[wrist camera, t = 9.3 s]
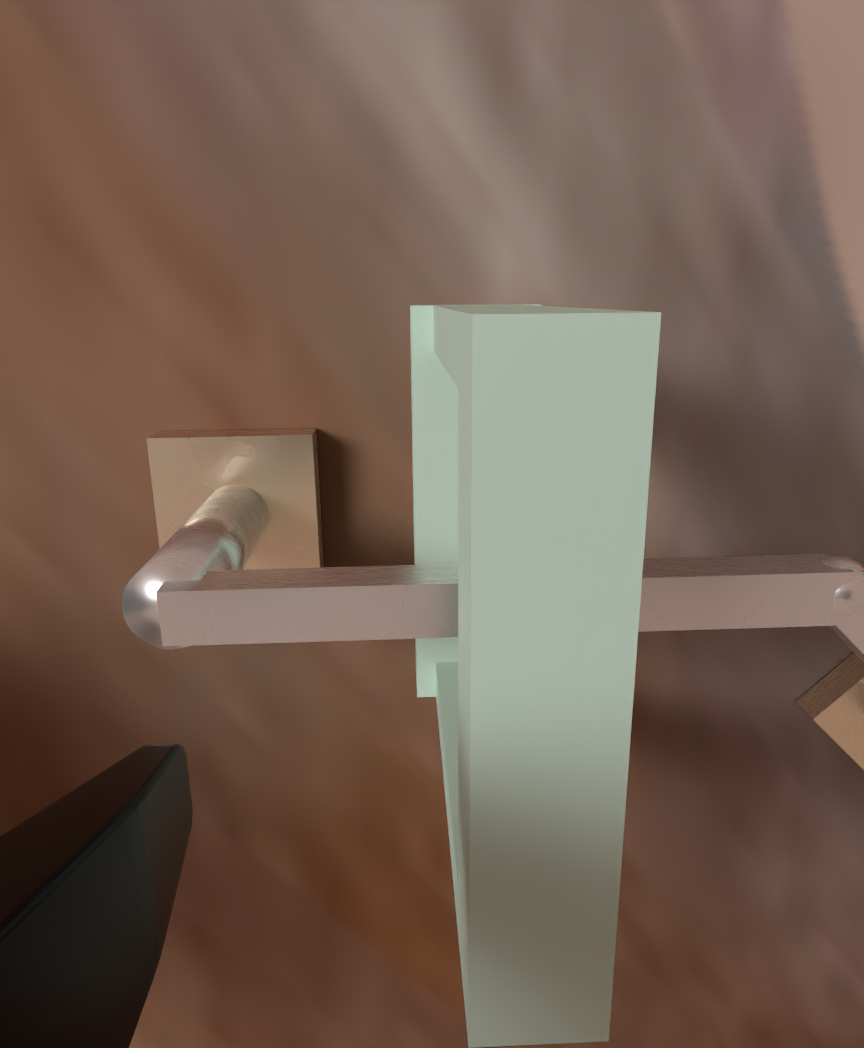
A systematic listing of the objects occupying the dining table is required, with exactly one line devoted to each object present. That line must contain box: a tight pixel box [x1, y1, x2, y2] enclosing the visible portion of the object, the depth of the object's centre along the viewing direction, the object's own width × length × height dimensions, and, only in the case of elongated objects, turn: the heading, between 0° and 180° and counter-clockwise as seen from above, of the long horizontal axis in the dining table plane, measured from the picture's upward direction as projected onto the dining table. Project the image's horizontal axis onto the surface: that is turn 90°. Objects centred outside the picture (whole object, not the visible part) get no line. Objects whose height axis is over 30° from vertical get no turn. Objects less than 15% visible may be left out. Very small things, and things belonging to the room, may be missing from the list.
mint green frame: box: [410, 304, 661, 1048], centre depth 15 cm, size 10×3×12 cm, turn 1°
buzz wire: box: [122, 428, 864, 770], centre depth 18 cm, size 5×25×9 cm, turn 71°
